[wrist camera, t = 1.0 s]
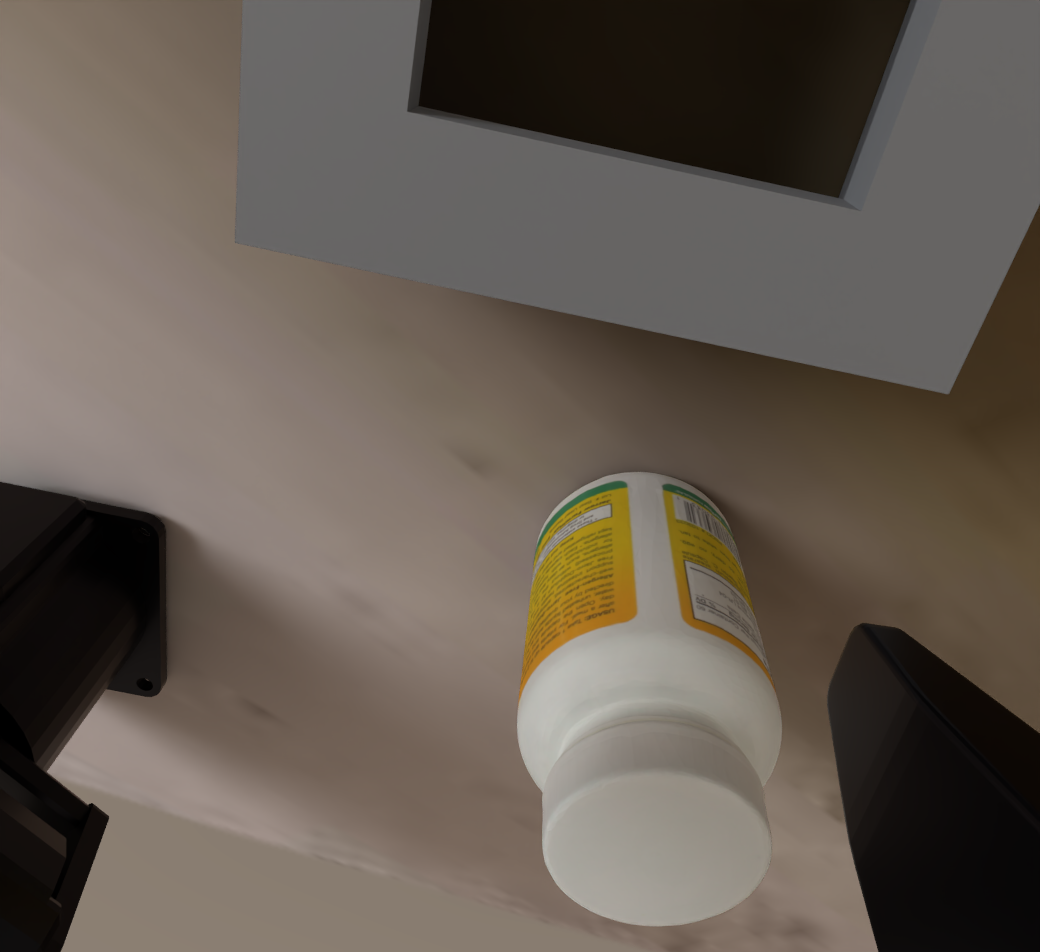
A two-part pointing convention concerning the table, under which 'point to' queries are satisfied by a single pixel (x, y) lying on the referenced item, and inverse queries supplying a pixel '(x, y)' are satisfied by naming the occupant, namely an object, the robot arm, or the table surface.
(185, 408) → the table surface
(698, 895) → the supplement bottle
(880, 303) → the drop box
